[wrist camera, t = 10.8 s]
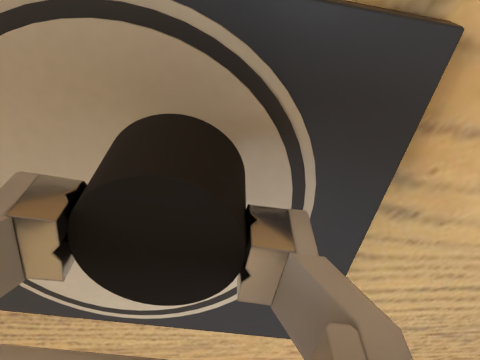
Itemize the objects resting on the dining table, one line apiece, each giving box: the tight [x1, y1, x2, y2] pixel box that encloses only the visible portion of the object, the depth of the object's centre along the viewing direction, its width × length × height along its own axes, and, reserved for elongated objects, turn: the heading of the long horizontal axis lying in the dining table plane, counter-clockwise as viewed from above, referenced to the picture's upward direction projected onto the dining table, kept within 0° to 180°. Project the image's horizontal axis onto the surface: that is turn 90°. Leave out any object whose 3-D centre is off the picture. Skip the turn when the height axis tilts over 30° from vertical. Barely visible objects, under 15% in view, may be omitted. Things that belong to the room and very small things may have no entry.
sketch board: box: [0, 0, 464, 339], centre depth 15 cm, size 20×16×1 cm
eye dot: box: [67, 114, 247, 306], centre depth 10 cm, size 4×4×3 cm
